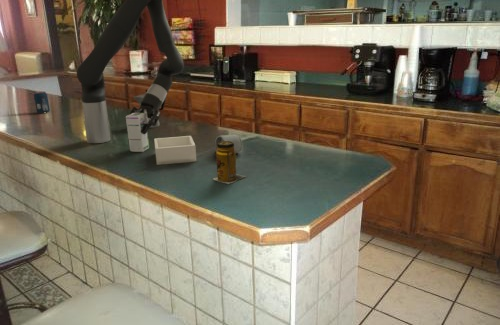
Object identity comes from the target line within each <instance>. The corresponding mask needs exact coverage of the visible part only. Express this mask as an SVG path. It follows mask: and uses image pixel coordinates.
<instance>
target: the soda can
mask: <svg viewBox="0 0 500 325" xmlns="http://www.w3.org/2000/svg"><path fill="white" fill-rule="evenodd" d="M33 99H34V104H35V109H36V112H37V114H39V113H44V112H49V113H50V111H51V108H50V104H49V98H48V94H47V93H46V91H35V92H34V94H33Z"/></svg>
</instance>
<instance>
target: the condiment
mask: <svg viewBox="0 0 500 325" xmlns="http://www.w3.org/2000/svg"><path fill="white" fill-rule="evenodd" d="M217 150H218V151H216V152H215V154H216V172H217V173H216V174H217V175H216V176H217V177H214V178H212V180H214V181H217V182H219V183H222V184H227V185H230V184H232V183H235V182H237V181H239V180H241V179H244V178H245V177H247V175H241V174H238V173H237V167H236V166H237V156H236V155H237V153H236V152H235V150H234V143H233V142H230V141H222V142H219V143H218V144H217Z"/></svg>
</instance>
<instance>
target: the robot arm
mask: <svg viewBox="0 0 500 325" xmlns="http://www.w3.org/2000/svg"><path fill="white" fill-rule="evenodd" d="M164 7H165V6H164V2H163V0H124V1H123V3H122V4H121V5H120V7H119V8H118V9H117V10H116V12H115V13H114V15H113V16H112V17H111V19H110V20H109V22H108V23H107V24H106V26H105V27H104V30H103V31H102V33H101V34H100V36H99V38H98V40H97V42H96V44H95V46H94V47H93V49H92V51H91V52H90V53H89V54H88V55H87V57H86V58H84V60H83V61H82V63H80V64H79V66H78V67H77V69H76V78H77V80H78V82H79V83H80V85H81V103H82V109H83V116H84V117H83V118H84V120H83V122H84V131H85V135H86V136H85V137H86V141H87V144H101V143H102V144H103V143H108V142H110V141H111V132H110V124H109V116H108V109H107V108H108V107H107V100H106V86H105V76H104V71H105V69H106V67H107V66H108V64H109V62H111V60H112V59H113V58H114V57H115V56H116V54H118V53H119V51H120V50H121V49H122V48H123V47H124V46H125V44H126V43H127V42H128V40H129V38H130V37H131V35H132V34H133V32H134V31H135V29H136V27H137V24H138V22H139V19H140V16H141V14H142V13H143V11H144V10H145V8H147V10H148V14H149V16H150V17H149V18H150V22H151V26H152V31H153V34H154V38H155V42H156V46H157V48H158V51H159V53H161V54H164V55H165V58H166V59H164V60H162V62H161V63H160V65H159V66H158V70H157V73H156V76H155V78H154V80H153V82H151V85H150V87H148V89H147V90H148V91H147V92H146V91H145V93H144V94H145V96H144V97H143V99H142V101H141V107H140V106H139V107H138V108H137V106H133V108H132V109H131V110H130V112H129V113H128V115H130V114H132V113H144V116H145V120H146V124H144V126H143V128H142V129H141V133H142V134H146V133H147V131H148V132H149V129H151V128H150V127H151V126H155V125H156V123H157V121H158V119H160V118H161V115H162V113H161V112H160V110H159V109H160V108H161V105H162V103H163V101H164V100H165V97H166V98H167V94H168V93H169V91H170V89H171V87H172V86H173V81H172V77H173V76H174V75H179V74H181V73H182V72H183V71H184V68H185V63H184V59H183V57H182V55H181V53H180V51H179V50H178V48H177V46H176V44H175V40H174V37H173V33H172V30H171V28H170V27H171V26H170V24H169V22H168V18H167V16H166V11H165V8H164ZM154 120H155V121H154ZM153 121H154V122H153ZM125 130H126V132H128V130H127V125H126V126H125Z"/></svg>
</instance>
